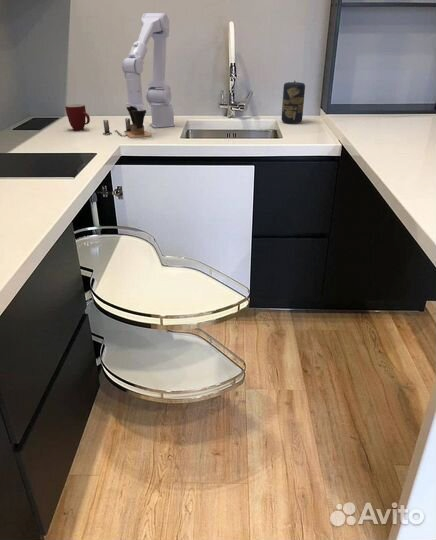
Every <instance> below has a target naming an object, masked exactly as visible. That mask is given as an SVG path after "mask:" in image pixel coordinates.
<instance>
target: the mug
mask: <svg viewBox="0 0 436 540" xmlns="http://www.w3.org/2000/svg"><path fill="white" fill-rule="evenodd" d="M64 107H65V112H66V116H67V119H68V122H69V126H70V127H71V128H72V129H73V130H74V132H75V131H76V132H77V131H79V132H80V131H84V128H85V126H86V125H88V124H90V121H91V118H90V114H88V113H87V112H86V111H87V110H86V105H85V104H83V103H71V104H66V105H65V106H64Z"/></svg>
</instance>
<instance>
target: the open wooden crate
mask: <svg viewBox="0 0 436 540" xmlns="http://www.w3.org/2000/svg"><path fill="white" fill-rule="evenodd" d="M130 126H131V133H132V134H133V135H143V134H144V131H145V126H144V124H143V128H139V129H137V126H136V124H132V123H130Z"/></svg>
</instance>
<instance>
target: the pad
mask: <svg viewBox="0 0 436 540" xmlns="http://www.w3.org/2000/svg"><path fill="white" fill-rule="evenodd" d="M124 135H128V136H127V137H128V138H129V139H137V138H146V137H147V138H148V137H152V134H151V133H149V132H148V131H147V130H144V134H143V135H133V134H132V133H131V132H125V133H124Z"/></svg>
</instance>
